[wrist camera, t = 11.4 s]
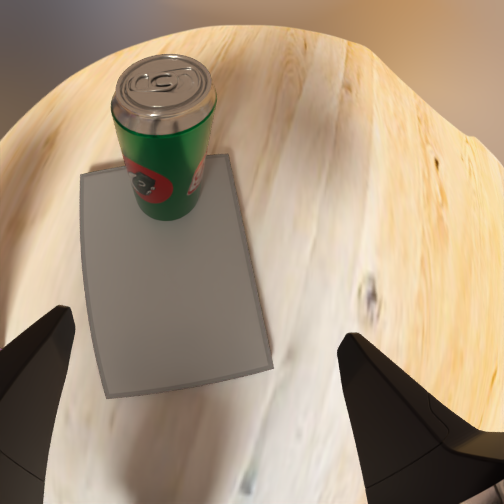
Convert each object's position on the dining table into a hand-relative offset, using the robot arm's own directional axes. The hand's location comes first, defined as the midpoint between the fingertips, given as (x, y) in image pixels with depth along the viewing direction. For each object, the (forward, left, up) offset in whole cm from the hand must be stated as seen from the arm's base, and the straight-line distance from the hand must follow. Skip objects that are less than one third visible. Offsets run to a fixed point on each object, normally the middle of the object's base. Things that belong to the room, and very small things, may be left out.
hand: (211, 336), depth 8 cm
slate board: (+5, +1, -14) cm, 14 cm away
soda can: (+10, 0, -12) cm, 16 cm away
